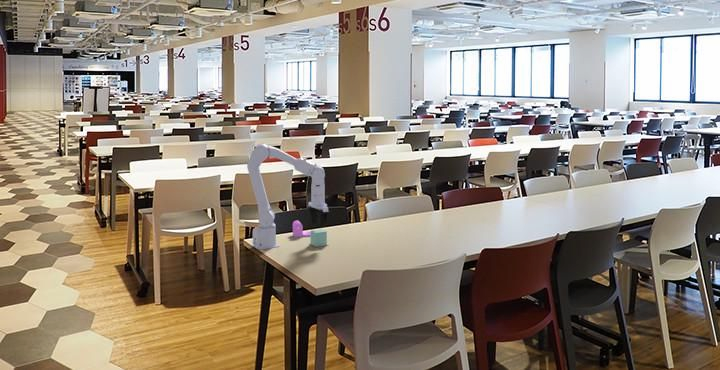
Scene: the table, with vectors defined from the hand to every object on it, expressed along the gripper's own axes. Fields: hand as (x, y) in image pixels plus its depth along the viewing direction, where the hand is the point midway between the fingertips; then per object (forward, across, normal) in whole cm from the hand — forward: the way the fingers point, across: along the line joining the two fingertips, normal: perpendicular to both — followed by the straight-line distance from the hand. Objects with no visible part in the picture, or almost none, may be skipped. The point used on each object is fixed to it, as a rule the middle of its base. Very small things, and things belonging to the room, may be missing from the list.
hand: (318, 225), depth 272 cm
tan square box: (+9, 0, 0) cm, 9 cm away
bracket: (+9, +19, -4) cm, 22 cm away
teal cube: (+8, 0, 0) cm, 8 cm away
